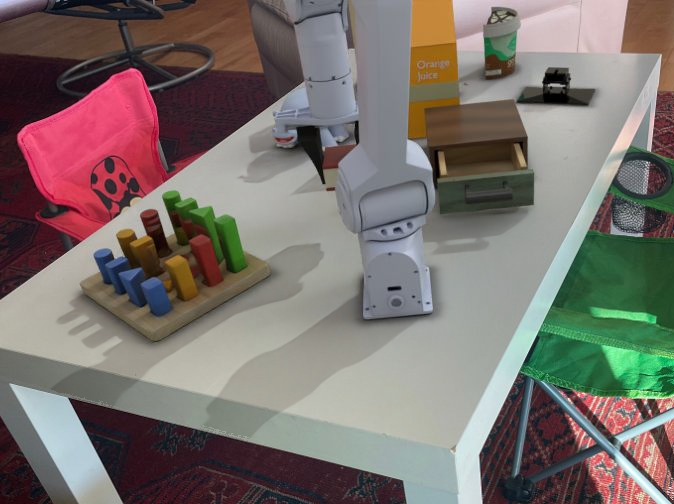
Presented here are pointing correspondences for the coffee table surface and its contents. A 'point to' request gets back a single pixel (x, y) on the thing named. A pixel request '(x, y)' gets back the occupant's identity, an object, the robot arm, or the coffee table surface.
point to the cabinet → (473, 128)
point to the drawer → (483, 178)
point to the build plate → (556, 90)
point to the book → (334, 163)
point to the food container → (500, 42)
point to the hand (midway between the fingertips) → (344, 179)
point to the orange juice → (431, 62)
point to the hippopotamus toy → (290, 137)
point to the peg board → (173, 269)
